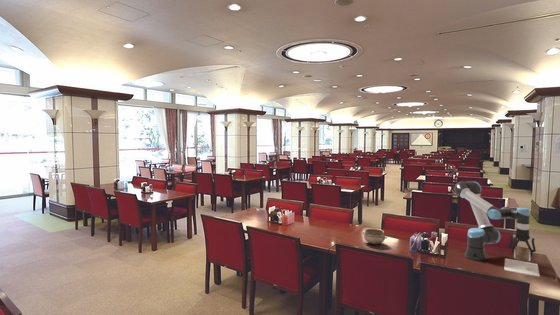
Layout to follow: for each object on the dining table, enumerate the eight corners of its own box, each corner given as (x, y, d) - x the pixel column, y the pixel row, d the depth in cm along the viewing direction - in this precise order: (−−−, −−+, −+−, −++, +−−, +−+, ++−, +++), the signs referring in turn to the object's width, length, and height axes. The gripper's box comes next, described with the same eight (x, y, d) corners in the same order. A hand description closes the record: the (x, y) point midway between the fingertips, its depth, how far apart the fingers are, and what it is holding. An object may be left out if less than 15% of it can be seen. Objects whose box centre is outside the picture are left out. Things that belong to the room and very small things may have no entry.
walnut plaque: (515, 258, 235) (514, 250, 229) (516, 253, 237) (515, 245, 231) (529, 261, 230) (528, 253, 223) (529, 256, 232) (529, 247, 225)
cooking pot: (391, 244, 286) (391, 231, 285) (382, 249, 272) (382, 235, 271) (366, 238, 303) (366, 226, 302) (357, 243, 289) (357, 230, 289)
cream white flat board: (539, 277, 214) (539, 276, 214) (504, 270, 227) (504, 269, 227) (537, 265, 237) (537, 264, 237) (505, 259, 249) (505, 258, 249)
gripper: (541, 230, 225) (540, 261, 225) (506, 225, 239) (505, 254, 239) (540, 232, 219) (540, 264, 220) (504, 227, 233) (504, 257, 234)
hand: (522, 259), depth 230 cm, fingers closed on walnut plaque, 8 cm apart
